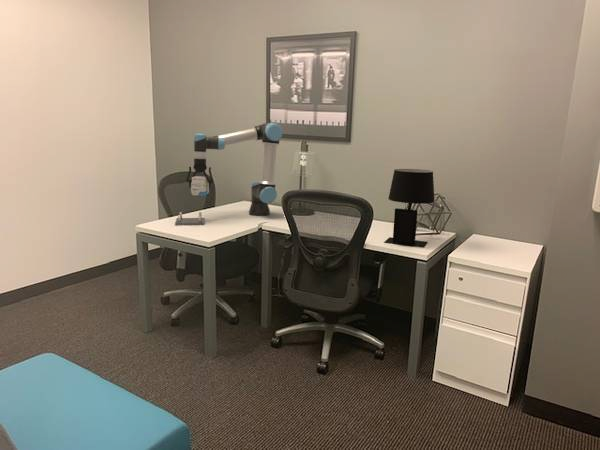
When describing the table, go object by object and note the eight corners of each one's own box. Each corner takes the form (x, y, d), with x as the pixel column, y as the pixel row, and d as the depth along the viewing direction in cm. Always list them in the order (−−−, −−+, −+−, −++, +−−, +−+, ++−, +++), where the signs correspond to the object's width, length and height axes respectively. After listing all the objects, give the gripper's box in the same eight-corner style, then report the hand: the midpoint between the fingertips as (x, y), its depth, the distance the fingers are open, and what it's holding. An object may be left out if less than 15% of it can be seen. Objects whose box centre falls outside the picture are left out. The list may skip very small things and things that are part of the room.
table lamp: (380, 242, 253) (384, 171, 245) (391, 233, 278) (395, 167, 270) (426, 248, 243) (433, 174, 235) (433, 237, 268) (439, 170, 260)
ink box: (208, 194, 299) (208, 176, 296) (204, 195, 290) (204, 177, 288) (195, 193, 299) (195, 175, 297) (191, 195, 291) (191, 176, 289)
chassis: (204, 219, 303) (204, 211, 302) (204, 224, 288) (204, 216, 287) (176, 220, 299) (176, 212, 298) (175, 225, 284) (174, 216, 283)
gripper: (217, 158, 296) (217, 192, 300) (182, 157, 292) (182, 191, 296) (217, 159, 289) (217, 194, 293) (181, 157, 284) (181, 193, 289)
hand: (199, 192), depth 295 cm, fingers closed on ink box, 10 cm apart
